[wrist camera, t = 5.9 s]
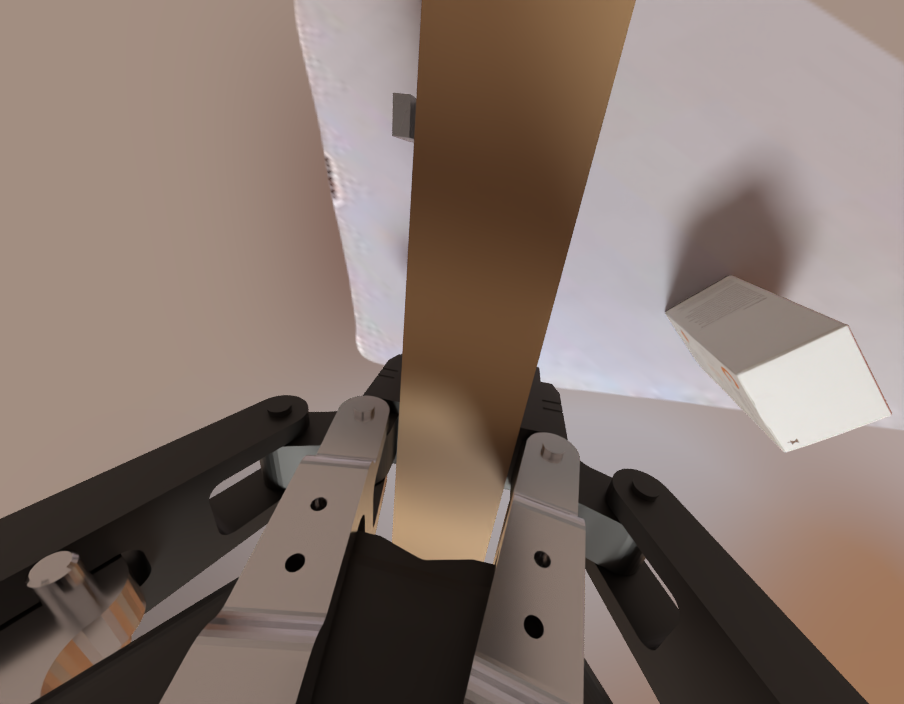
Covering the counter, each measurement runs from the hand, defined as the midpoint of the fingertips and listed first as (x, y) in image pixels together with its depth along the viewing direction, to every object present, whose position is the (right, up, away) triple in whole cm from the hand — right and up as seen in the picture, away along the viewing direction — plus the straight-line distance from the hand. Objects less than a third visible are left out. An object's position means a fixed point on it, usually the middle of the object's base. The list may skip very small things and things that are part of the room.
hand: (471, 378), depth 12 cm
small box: (+25, +4, +22) cm, 34 cm away
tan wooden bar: (0, 0, -1) cm, 1 cm away
